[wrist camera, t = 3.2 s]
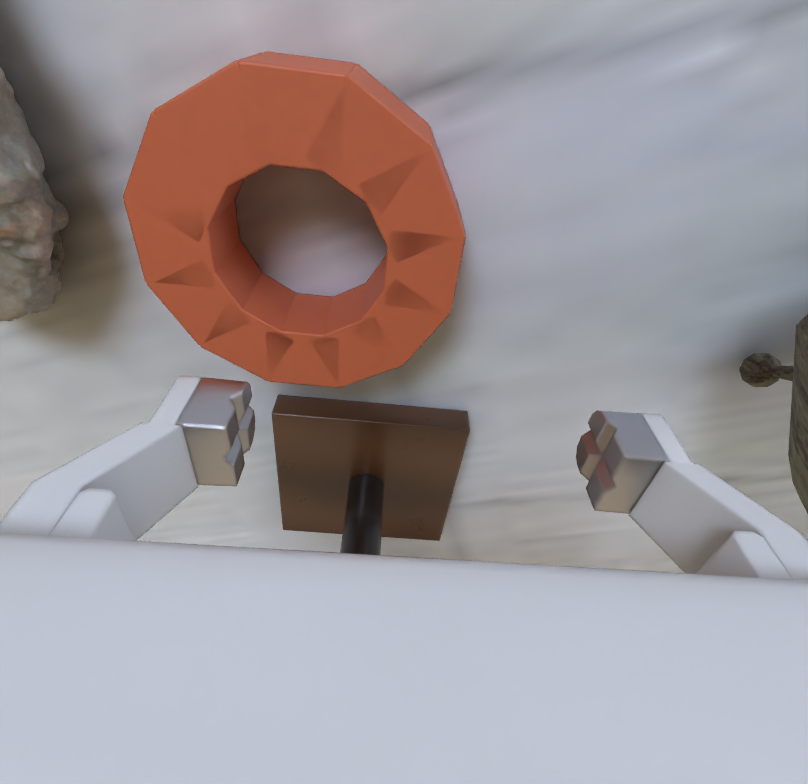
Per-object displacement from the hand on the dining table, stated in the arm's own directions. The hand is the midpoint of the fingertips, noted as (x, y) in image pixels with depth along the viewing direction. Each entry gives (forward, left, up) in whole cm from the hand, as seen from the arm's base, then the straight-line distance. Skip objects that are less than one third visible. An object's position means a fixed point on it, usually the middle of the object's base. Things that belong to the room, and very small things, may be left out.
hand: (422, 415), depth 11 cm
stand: (+14, -1, -10) cm, 17 cm away
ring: (0, -4, -10) cm, 11 cm away
